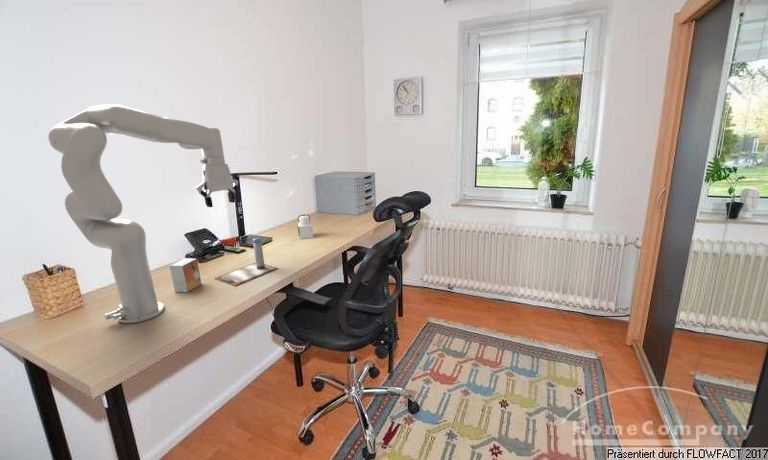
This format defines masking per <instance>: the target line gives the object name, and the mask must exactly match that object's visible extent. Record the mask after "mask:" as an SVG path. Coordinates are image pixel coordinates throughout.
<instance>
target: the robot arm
mask: <svg viewBox="0 0 768 460" xmlns="http://www.w3.org/2000/svg"><path fill="white" fill-rule="evenodd" d="M107 135H120V136H124V137H130V138H135V139H139V140H144V141H147V142H148V141H149V142H152V143H161V144H177V145H178V146H179V147H180V148H182V149H184V150H201V154H202V155H201V156H202V157H201V159H200V160H199V162H200V163H202V164H203V165H202V167H201V168H202V172H201V173H202V174H201V175H202V176H201V177H202V182H200V183H199V184H198V185H197V186H195V189H196V190H197V192H198V193H199V194H200V195H201V196H202V197H204V204H205V205H206V207H207V208H213V207H214V205H213V199H212V196H211V194H212V193H213V192H221V191H228V192H227V196H228V202H229V203H236V197H235V193H236V191H237V188H238V185H239V180H238V179H235V178H233V177H232V174H231V170H230V168H229V164H228V163H226V159H225V155H224V154H225V153H224V147H223V143H222V141H223V140H222V135H221V131H220V129H219V128H217V127H207V126H205V125H201V124H197V123H193V122H190V121H185V120H180V119H175V118H170V117H166V116H160V115H156V114H152V113H149V112H146V111H142V110H138V109H135V108H132V107H127V106H125V105H122V104H118V103H116V104H115V103H108V104H100V105H99V104H98V105H93V106H91V107H87V108H85V110H82V111H81V112H78V113H76V114H75V115H73V116H71V117H70V118H67V119H66V120H64V121H62V122H60V123H58V124H56V125H55V126H54V127H52V128H51V129H50V130H49V133H48V136H47V137H48V139H47V140H48V143H49V145H50V146H51V147H52V148H53V149H54V150H55V151H56V152H58V153H60V154H62V158H61V161H60V162H61V164H60V166H61V172H62V176H63V177H64V179H65V181H66V183H67V184H68V186H69V187H70V190H71V191H69V192H68V193H67V195H66V197H65V199H64V206H65V210H66V212H67V214H68V216H69V217H70V218H71V220H72V221H73V222H74V224H75V225H76V227H77V228H78V229H79V230H80V232H81V234H82V235H83V236H84V237H85V239H86V240H87V241H88V242H89V243H91V244H92V245H94V247H98V248H102V249H107V250H111V255H110V256H111V257H110V267H111V271H112V274H113V278H114V282H115V285H116V286H115V287H116V289H117V294H118V297H119V302H120V304H119V305H118V304H117V308H116V309H115V310H114V311H109V312H107V313H104V314H103V316H104V318H105V320H106V321H108V320H110V319H112V320H117V319H118V321H119V322H121V323H122V324H133V323H135V324H136V323H140V322H144V321H147V320H151V319H153V318H155V317H157V316H158V315H160V314H161V313H162V312H164V310H165V305H164V303H162V302H160V301H158V300H157V296H156V295H157V294H156V291H155V286H154V282H153V277H152V273H151V268H150V265H149V259H148V255H147V246H146V245H147V244H146V243H147V238H146V237H147V234H146V232H145V229H144V228H143V226H141V224H139V223H138V222H136V221H133V220H131V219H123V218H118V217H119V216H120V215H121V214H122V212H123V203H122V201H121V199H120V198H119V196H118V195H117V194H116V191H115V190H114V188H113V186H112V185H111V184H110V182H109V180H108V178H107V177H106V176H105V173H104V171H103V169H102V166H101V160H102V156H103V153H104V151H105V150H106V147H107V145H108V139H107V138H108V137H107ZM203 188H204V190H203Z"/></svg>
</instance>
